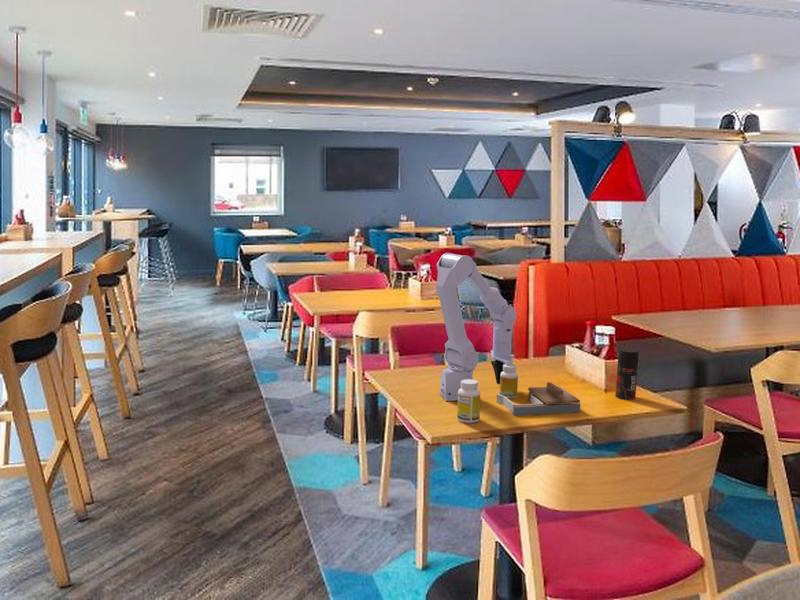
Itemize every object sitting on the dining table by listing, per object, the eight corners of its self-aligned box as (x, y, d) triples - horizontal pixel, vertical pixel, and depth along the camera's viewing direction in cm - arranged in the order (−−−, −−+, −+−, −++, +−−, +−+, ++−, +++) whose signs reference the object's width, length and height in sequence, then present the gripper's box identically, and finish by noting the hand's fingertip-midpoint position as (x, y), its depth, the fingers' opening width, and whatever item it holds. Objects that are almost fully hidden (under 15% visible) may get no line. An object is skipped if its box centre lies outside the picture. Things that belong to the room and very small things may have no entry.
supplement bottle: (516, 399, 218) (518, 368, 217) (498, 398, 219) (500, 367, 218) (517, 394, 224) (518, 364, 222) (500, 393, 225) (501, 362, 223)
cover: (547, 404, 204) (547, 393, 204) (528, 390, 218) (528, 379, 218) (579, 402, 207) (580, 392, 206) (558, 388, 220) (559, 378, 220)
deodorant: (621, 393, 227) (624, 346, 225) (638, 397, 223) (642, 350, 220) (611, 396, 223) (615, 349, 220) (629, 401, 219) (633, 353, 216)
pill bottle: (476, 416, 202) (478, 378, 200) (481, 423, 196) (483, 384, 194) (455, 416, 201) (456, 378, 200) (459, 423, 195) (460, 384, 194)
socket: (511, 416, 203) (512, 407, 202) (494, 400, 216) (495, 392, 216) (579, 412, 207) (580, 404, 207) (559, 397, 221) (559, 389, 220)
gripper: (522, 346, 220) (520, 389, 222) (506, 336, 234) (504, 377, 236) (500, 347, 218) (499, 390, 221) (485, 337, 232) (483, 377, 235)
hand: (500, 383), depth 228 cm, fingers closed
